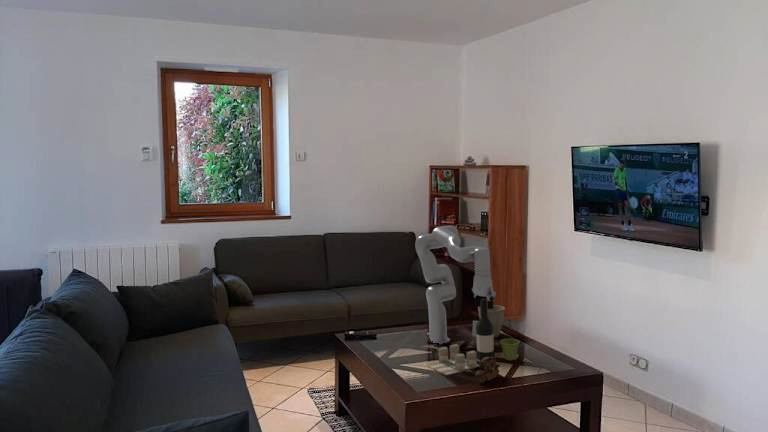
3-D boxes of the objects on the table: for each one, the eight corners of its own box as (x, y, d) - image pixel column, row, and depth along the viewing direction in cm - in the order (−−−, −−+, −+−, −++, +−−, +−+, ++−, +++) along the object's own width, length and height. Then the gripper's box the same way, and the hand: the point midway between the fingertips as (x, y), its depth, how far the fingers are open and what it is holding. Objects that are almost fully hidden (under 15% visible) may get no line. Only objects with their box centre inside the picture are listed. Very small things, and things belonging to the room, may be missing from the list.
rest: (426, 366, 282) (426, 351, 282) (459, 358, 292) (459, 343, 292) (446, 375, 269) (445, 359, 268) (480, 366, 278) (479, 351, 278)
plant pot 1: (508, 338, 321) (507, 310, 320) (481, 340, 321) (480, 311, 320) (502, 331, 336) (501, 304, 334) (477, 332, 336) (476, 305, 335)
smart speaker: (493, 344, 312) (492, 318, 311) (484, 348, 305) (483, 322, 304) (478, 341, 318) (477, 316, 317) (469, 345, 312) (468, 320, 311)
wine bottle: (493, 355, 294) (491, 296, 292) (494, 360, 286) (492, 300, 283) (476, 355, 295) (474, 297, 293) (477, 361, 287) (475, 301, 284)
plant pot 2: (521, 356, 290) (521, 339, 289) (517, 362, 282) (517, 345, 281) (503, 354, 294) (502, 338, 293) (498, 360, 285) (498, 343, 285)
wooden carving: (484, 386, 253) (483, 364, 252) (475, 384, 256) (474, 362, 255) (502, 375, 265) (502, 354, 265) (493, 373, 268) (493, 352, 268)
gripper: (465, 271, 293) (467, 305, 294) (488, 275, 278) (489, 311, 279) (477, 269, 296) (478, 302, 297) (500, 273, 281) (501, 308, 282)
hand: (484, 306), depth 288 cm, fingers open, 9 cm apart
